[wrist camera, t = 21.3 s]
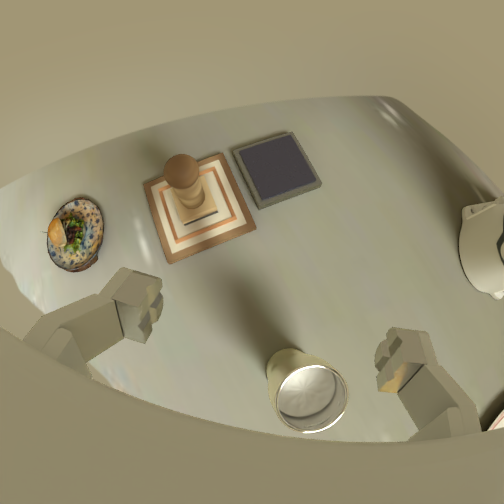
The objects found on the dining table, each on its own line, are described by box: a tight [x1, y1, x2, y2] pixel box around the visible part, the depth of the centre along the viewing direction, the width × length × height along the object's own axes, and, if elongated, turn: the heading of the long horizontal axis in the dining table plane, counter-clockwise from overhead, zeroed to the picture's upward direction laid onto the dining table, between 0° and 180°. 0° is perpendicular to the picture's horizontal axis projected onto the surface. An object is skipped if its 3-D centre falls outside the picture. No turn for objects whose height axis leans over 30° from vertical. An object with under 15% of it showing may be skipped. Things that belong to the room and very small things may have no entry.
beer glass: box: [266, 348, 349, 433], centre depth 29 cm, size 7×7×15 cm
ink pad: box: [233, 132, 322, 210], centre depth 42 cm, size 10×10×2 cm
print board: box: [143, 153, 256, 264], centre depth 40 cm, size 13×13×1 cm
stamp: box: [164, 154, 218, 226], centre depth 34 cm, size 5×5×12 cm
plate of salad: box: [44, 197, 104, 272], centre depth 37 cm, size 12×12×8 cm
